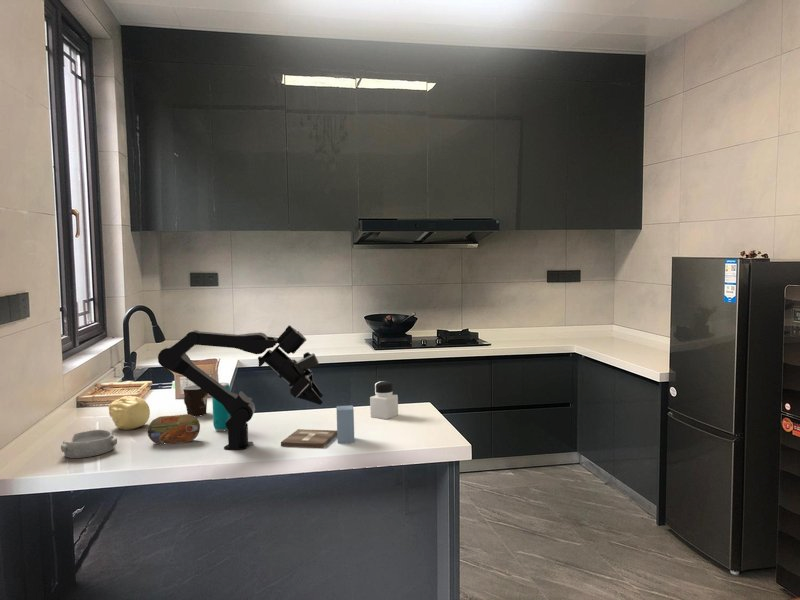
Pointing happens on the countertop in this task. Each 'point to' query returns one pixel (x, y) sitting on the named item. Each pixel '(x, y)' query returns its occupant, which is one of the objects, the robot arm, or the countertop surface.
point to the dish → (89, 444)
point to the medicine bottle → (384, 401)
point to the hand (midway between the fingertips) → (321, 400)
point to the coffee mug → (195, 400)
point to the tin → (174, 429)
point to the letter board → (309, 438)
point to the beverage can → (220, 413)
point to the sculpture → (129, 412)
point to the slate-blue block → (345, 424)
